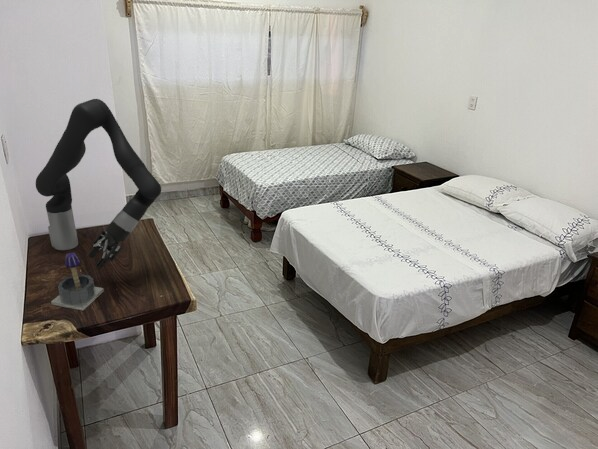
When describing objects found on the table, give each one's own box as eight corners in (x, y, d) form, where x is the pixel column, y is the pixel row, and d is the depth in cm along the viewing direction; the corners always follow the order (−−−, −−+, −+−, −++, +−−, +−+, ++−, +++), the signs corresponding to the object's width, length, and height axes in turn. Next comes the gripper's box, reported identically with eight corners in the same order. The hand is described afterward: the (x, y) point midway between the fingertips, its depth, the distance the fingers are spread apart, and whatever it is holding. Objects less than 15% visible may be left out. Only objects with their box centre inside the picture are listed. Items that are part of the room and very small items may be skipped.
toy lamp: (70, 299, 149) (61, 258, 142) (73, 291, 153) (64, 251, 146) (85, 298, 151) (77, 257, 143) (87, 290, 155) (80, 250, 147)
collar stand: (51, 304, 148) (48, 289, 146) (74, 285, 159) (71, 271, 156) (83, 310, 146) (80, 295, 144) (104, 290, 157) (101, 276, 154)
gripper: (106, 213, 155) (78, 249, 153) (121, 228, 146) (91, 267, 144) (123, 223, 161) (95, 258, 159) (138, 238, 151) (109, 275, 150)
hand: (93, 262), depth 151 cm, fingers open, 8 cm apart
